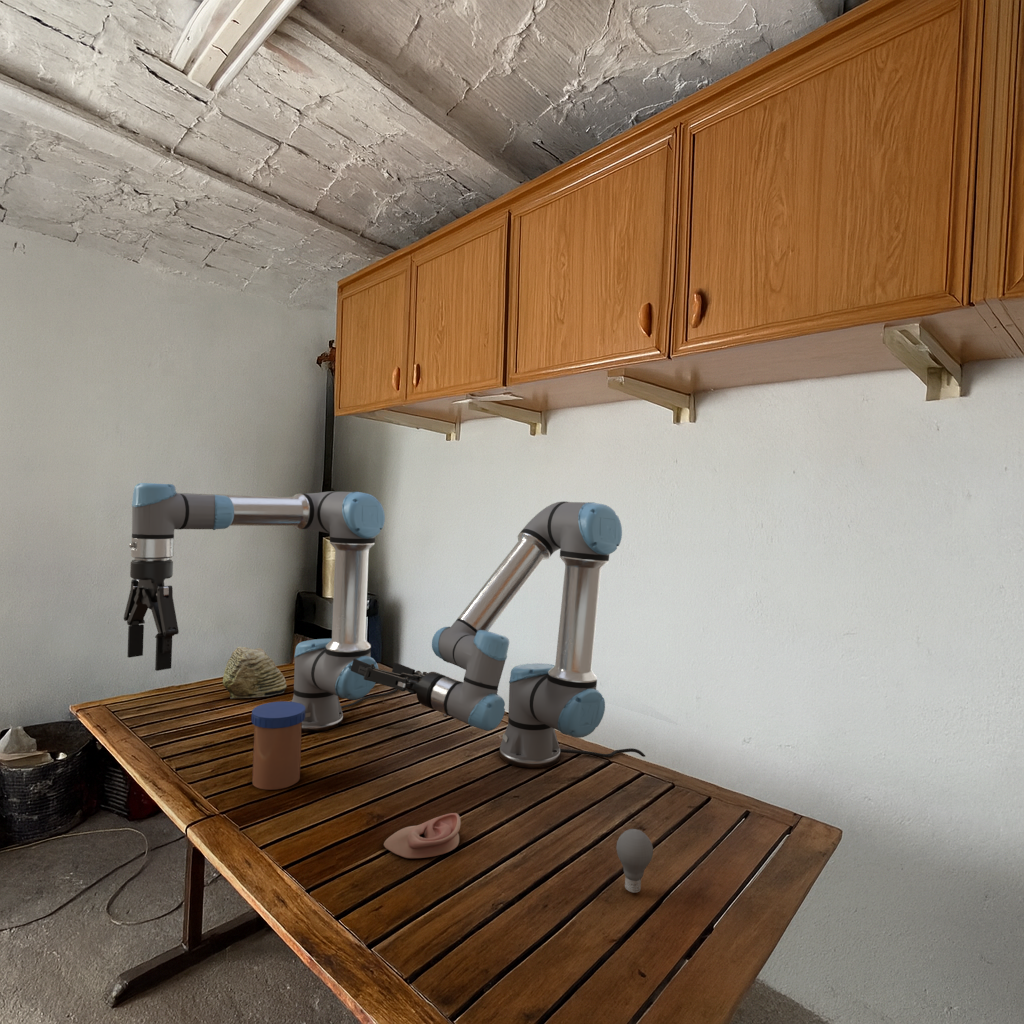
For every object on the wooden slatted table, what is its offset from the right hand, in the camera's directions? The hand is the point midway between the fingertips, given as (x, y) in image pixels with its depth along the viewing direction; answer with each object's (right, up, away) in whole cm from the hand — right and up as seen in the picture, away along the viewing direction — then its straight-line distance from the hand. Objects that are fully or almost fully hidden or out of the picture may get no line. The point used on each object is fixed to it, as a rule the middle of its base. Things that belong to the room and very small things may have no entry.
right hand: (374, 666), depth 151 cm
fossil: (-48, -20, +47) cm, 70 cm away
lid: (-19, -7, -10) cm, 23 cm away
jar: (-20, -23, -10) cm, 32 cm away
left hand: (-41, +6, -21) cm, 47 cm away
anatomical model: (+16, -25, -33) cm, 44 cm away
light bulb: (+53, -27, -45) cm, 74 cm away
